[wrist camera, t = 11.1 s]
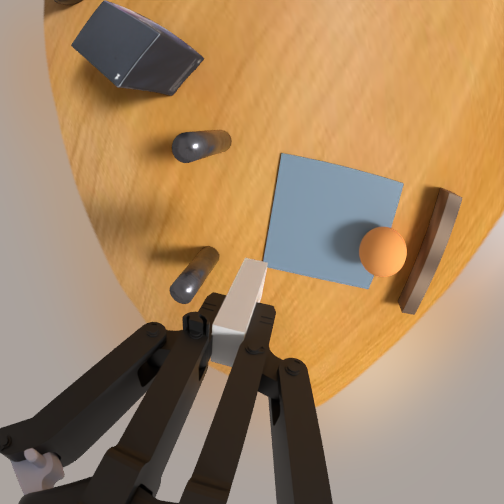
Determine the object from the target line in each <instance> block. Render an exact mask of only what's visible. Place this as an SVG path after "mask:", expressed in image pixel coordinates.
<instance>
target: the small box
mask: <svg viewBox="0 0 504 504" xmlns="http://www.w3.org/2000/svg"><path fill="white" fill-rule="evenodd" d="M71 46H72V47H73V48H74V49H75V50H77V51H78V52H79V53H80V54H81V55H82V56H83V57H84V58H86V59H87V60H88V61H89V62H90V63H91V64H92V65H93V66H95V67H96V68H97V69H98V70H99V71H100V72H101V73H102V74H103V75H104V76H105V77H107V78H108V79H109V80H110V81H111V82H112V83H113V84H114V85H116V86H117V87H120V88H128V89H135V90H136V89H137V90H143V91H150V92H156V93H161V94H166V95H170V96H172V95H174V93H175V92H176V91H177V89H178V88H179V87H180V86H181V84H182V83H183V82H184V81H185V80H186V79H187V78H188V76H190V74H191V73H192V72H193V71H194V70H196V68H197V67H198V66H199V65H200V63H201V62H202V61H203V60H204V58H203V57H202V56H201V55H200V54H199V53H197V52H196V51H195V50H194V49H193V48H191V47H190V46H189V45H187V44H186V43H185V42H184V41H182V40H181V39H179V38H178V37H177V36H175V35H174V34H172V33H171V32H170V31H168V30H167V29H165V28H163V27H162V26H160V25H158V24H157V23H155V22H153V21H152V20H150V19H148V18H146V17H144V16H142V15H140V14H138V13H136V12H134V11H131V10H129V9H127V8H124V7H122V6H119V5H117V4H114V3H111V2H108V1H105V0H104V1H103V2H102V3H101V4H100V6H99V7H98V8H97V9H96V11H95V12H94V13H93V15H92V16H91V17H90V19H89V20H88V21H87V23H86V24H85V26H84V27H83V28H82V30H81V31H80V33H79V34H78V36H77V37H76V39H75V40H74V42H73V43H72V45H71Z"/></svg>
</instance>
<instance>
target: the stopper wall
mask: <svg viewBox="0 0 504 504" xmlns="http://www.w3.org/2000/svg"><path fill="white" fill-rule="evenodd" d="M461 201H462V197H460V196H458V195H456V194H455V193H453V192H451V191H448V190H446V189H443V188H440V191H439V195H438V198H437V202H436V205H435V208H434V211H433V215H432V218H431V221H430V224H429V227H428V230H427V232H426V235H425V238H424V241H423V243H422V246H421V249H420V251H419V254H418V256H417V259H416V261H415V264H414V266H413V269H412V271H411V273H410V276H409V278H408V280H407V283H406V285H405V287H404V289H403V291H402V294H401V296H400V298H399V300H398V303H399V305H400V308H401V311H402V313H408V314H415V313H416V311H417V309H418V307H419V305H420V303H421V301H422V299H423V297H424V295H425V293H426V291H427V289H428V287H429V285H430V283H431V281H432V278H433V276H434V274H435V272H436V269H437V267H438V265H439V262H440V260H441V258H442V255H443V253H444V250H445V248H446V245H447V243H448V240H449V237H450V235H451V232H452V229H453V226H454V223H455V220H456V217H457V214H458V211H459V208H460V205H461Z"/></svg>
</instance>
